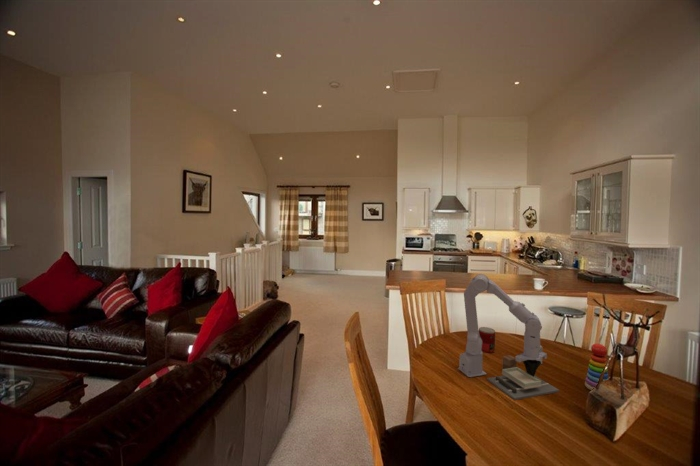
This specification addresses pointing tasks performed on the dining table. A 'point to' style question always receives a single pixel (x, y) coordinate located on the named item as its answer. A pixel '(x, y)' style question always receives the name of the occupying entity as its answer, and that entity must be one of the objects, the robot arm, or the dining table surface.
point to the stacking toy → (596, 366)
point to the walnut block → (509, 362)
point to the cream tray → (521, 377)
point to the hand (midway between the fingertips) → (530, 376)
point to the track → (519, 392)
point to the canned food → (487, 339)
